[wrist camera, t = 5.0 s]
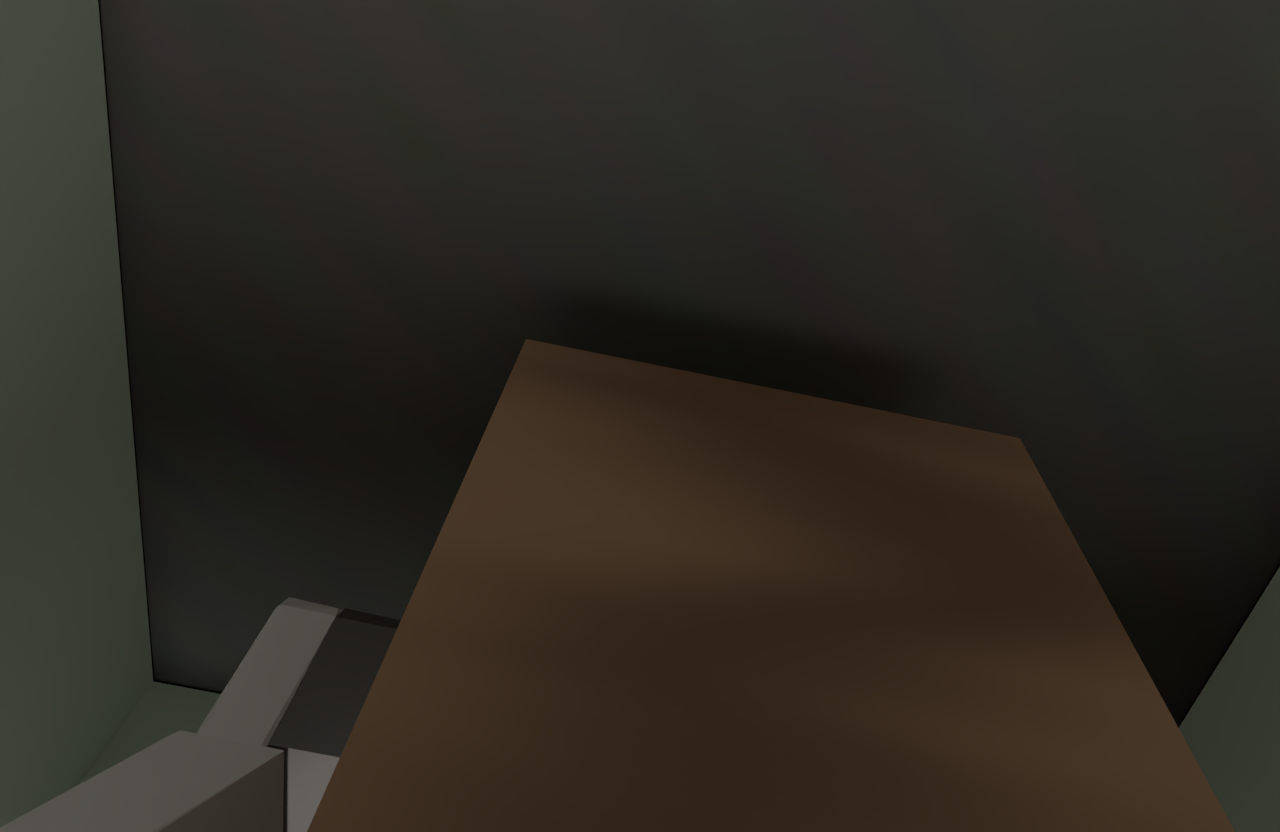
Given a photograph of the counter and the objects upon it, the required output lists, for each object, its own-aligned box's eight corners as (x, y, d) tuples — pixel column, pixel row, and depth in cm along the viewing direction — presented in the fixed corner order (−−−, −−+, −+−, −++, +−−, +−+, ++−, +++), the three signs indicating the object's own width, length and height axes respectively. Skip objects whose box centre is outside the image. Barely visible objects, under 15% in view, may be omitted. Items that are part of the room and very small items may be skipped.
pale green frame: (1838, -141, 9) (2676, -167, 5) (1130, 905, 17) (1256, 1216, 13) (-55, -548, 9) (-686, -912, 5) (97, 713, 16) (-100, 973, 12)
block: (1020, 438, 10) (1376, 1090, 4) (871, 781, 12) (986, 1468, 7) (525, 338, 10) (284, 883, 4) (474, 703, 12) (278, 1344, 7)
